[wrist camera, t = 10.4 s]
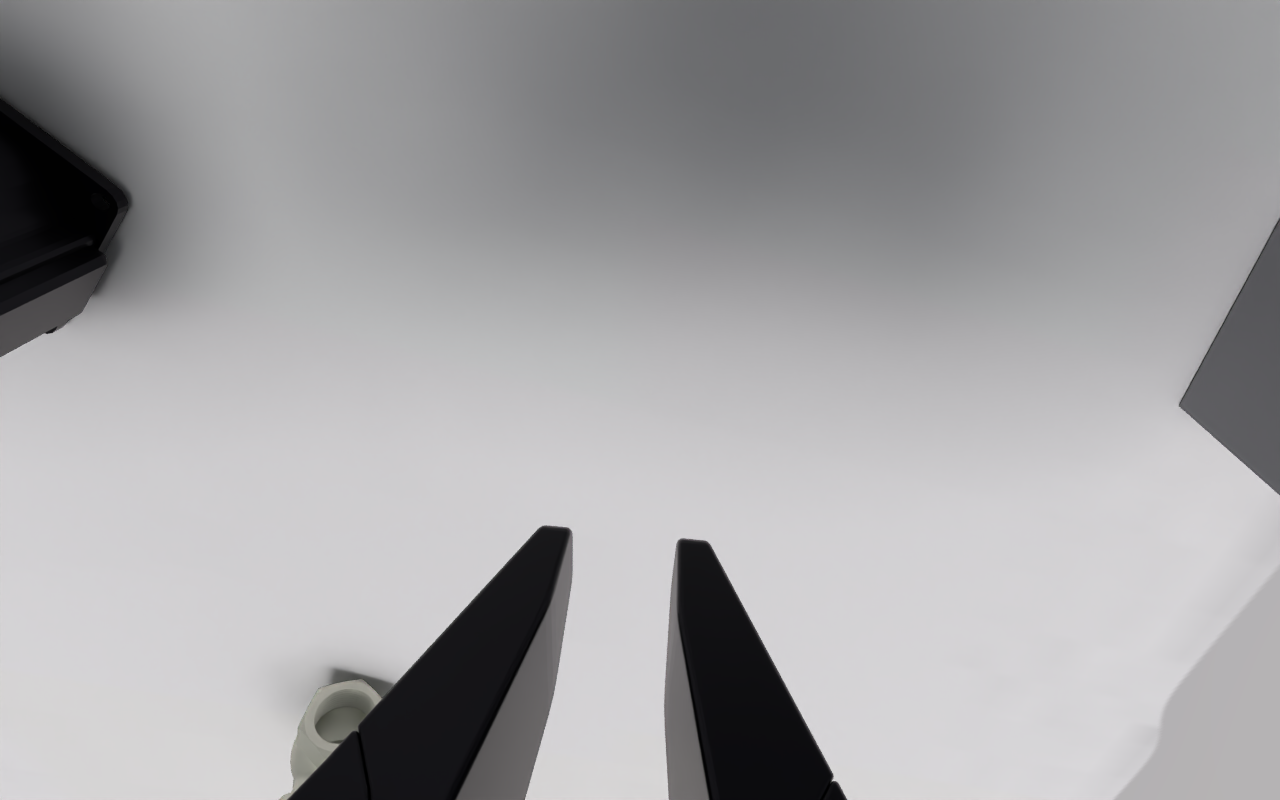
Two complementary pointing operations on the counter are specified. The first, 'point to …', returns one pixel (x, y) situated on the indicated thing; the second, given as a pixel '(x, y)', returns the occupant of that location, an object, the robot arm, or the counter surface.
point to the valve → (328, 725)
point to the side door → (1246, 373)
